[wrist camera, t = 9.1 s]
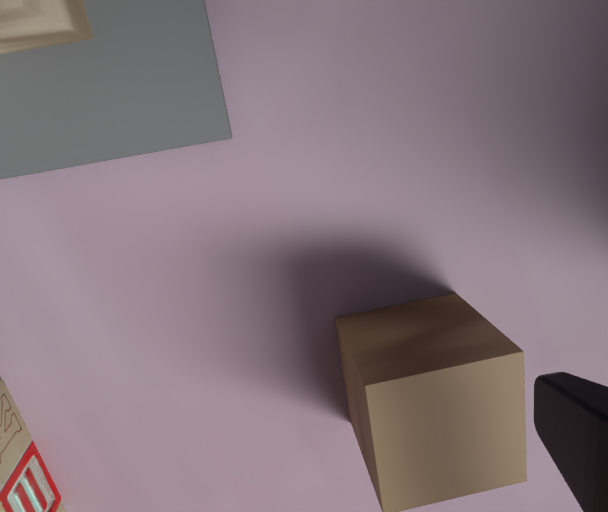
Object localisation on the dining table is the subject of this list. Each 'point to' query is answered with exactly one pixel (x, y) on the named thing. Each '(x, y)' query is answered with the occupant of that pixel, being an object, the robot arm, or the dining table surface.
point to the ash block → (41, 24)
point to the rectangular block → (433, 401)
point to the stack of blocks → (22, 465)
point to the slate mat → (113, 89)
